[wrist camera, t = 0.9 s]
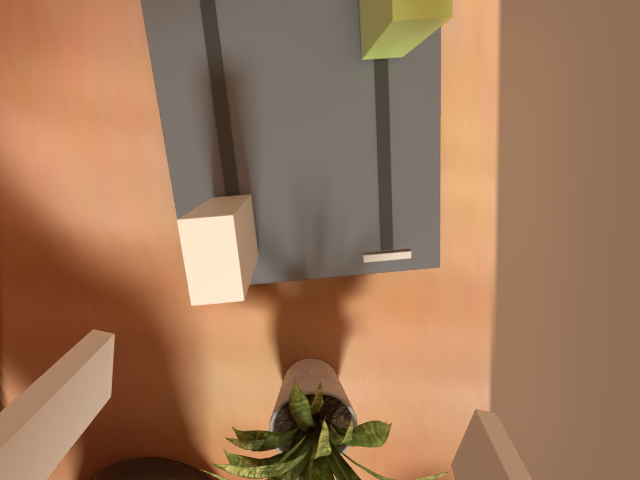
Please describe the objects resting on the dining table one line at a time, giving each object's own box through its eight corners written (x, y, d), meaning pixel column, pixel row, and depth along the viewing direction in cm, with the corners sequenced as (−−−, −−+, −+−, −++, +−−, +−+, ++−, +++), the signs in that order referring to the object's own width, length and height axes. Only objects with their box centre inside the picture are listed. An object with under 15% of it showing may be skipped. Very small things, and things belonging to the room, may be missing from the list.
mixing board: (195, 281, 33) (188, 291, 31) (144, -32, 28) (131, -47, 25) (431, 260, 34) (440, 268, 32) (431, -48, 29) (442, -63, 26)
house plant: (341, 273, 34) (382, 384, 18) (417, 384, 37) (508, 559, 22) (212, 357, 35) (145, 530, 20) (297, 457, 39) (298, 675, 23)
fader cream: (220, 259, 31) (191, 305, 22) (211, 197, 29) (176, 219, 21) (258, 256, 31) (244, 300, 22) (251, 194, 29) (233, 215, 21)
